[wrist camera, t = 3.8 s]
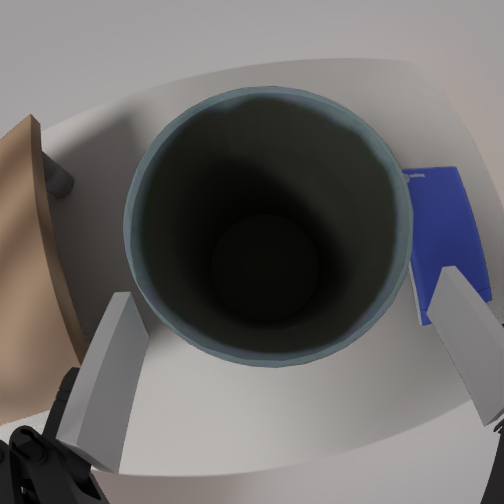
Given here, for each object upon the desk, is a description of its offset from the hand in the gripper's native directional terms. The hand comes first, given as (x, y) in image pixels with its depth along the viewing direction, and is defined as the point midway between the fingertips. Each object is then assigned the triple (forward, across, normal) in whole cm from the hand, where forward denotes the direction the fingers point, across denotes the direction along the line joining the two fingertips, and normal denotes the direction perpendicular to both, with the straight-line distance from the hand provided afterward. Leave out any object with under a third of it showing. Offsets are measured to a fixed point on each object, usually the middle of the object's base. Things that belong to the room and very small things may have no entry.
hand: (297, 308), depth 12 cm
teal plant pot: (+9, -1, -4) cm, 10 cm away
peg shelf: (+7, -22, -5) cm, 24 cm away
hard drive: (+10, +14, -4) cm, 18 cm away
